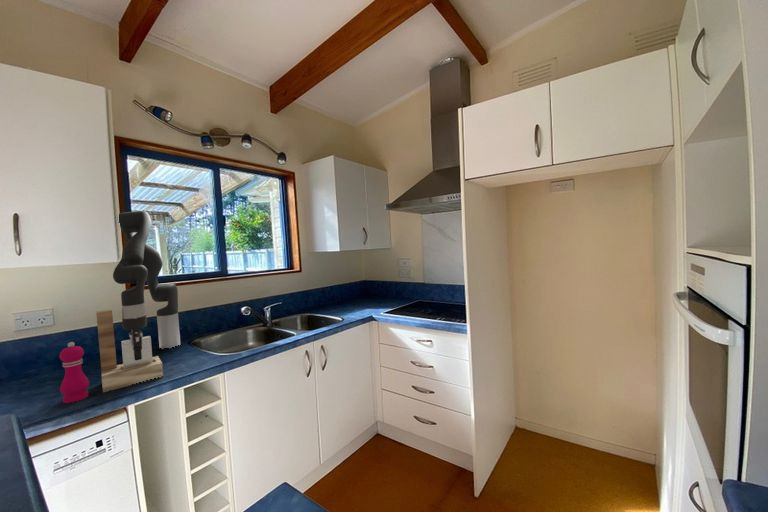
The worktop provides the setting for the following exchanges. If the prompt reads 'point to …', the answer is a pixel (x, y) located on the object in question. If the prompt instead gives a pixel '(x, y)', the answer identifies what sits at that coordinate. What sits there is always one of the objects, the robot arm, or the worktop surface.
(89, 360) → the worktop surface
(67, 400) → the pepper mill
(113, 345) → the wooden l-shaped stand
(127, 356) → the grey stone slab
